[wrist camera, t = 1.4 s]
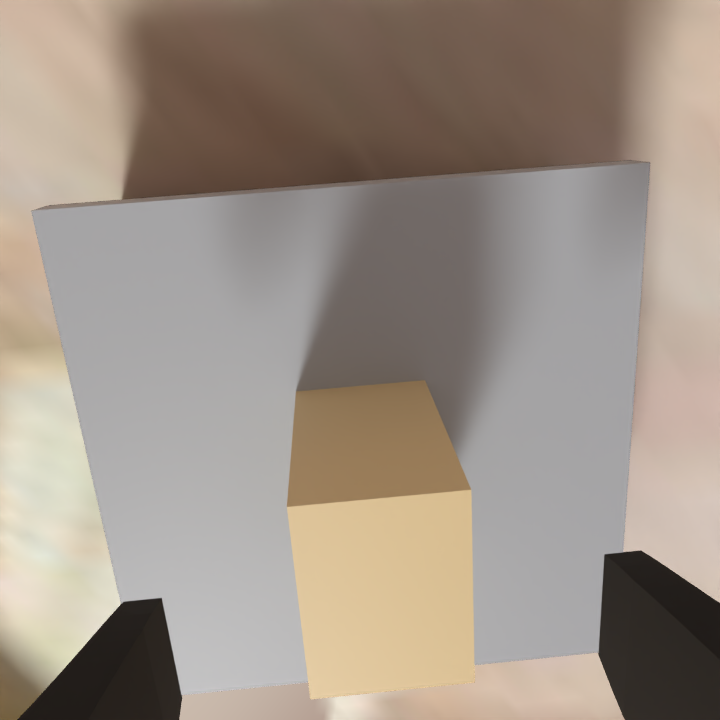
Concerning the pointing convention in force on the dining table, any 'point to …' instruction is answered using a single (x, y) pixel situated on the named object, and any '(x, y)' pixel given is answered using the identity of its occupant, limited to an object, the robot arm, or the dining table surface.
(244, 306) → the lid
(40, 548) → the dining table surface
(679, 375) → the dining table surface
